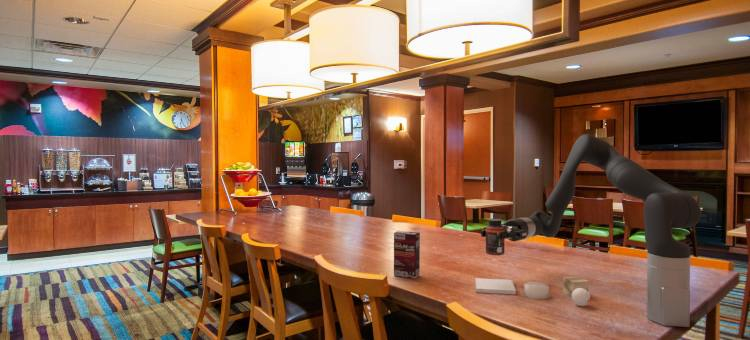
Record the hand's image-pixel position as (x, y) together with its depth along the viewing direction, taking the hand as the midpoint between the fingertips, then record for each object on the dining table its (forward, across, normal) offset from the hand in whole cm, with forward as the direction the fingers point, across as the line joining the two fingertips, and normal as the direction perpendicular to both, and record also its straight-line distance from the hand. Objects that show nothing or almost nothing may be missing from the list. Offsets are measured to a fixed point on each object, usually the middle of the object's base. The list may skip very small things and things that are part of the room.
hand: (490, 235), depth 139 cm
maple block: (-15, +20, +18) cm, 31 cm away
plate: (-2, 0, +18) cm, 18 cm away
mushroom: (-7, +26, +18) cm, 32 cm away
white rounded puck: (-5, +13, +18) cm, 23 cm away
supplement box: (+10, -29, +18) cm, 35 cm away
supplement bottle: (-2, 0, +7) cm, 7 cm away
